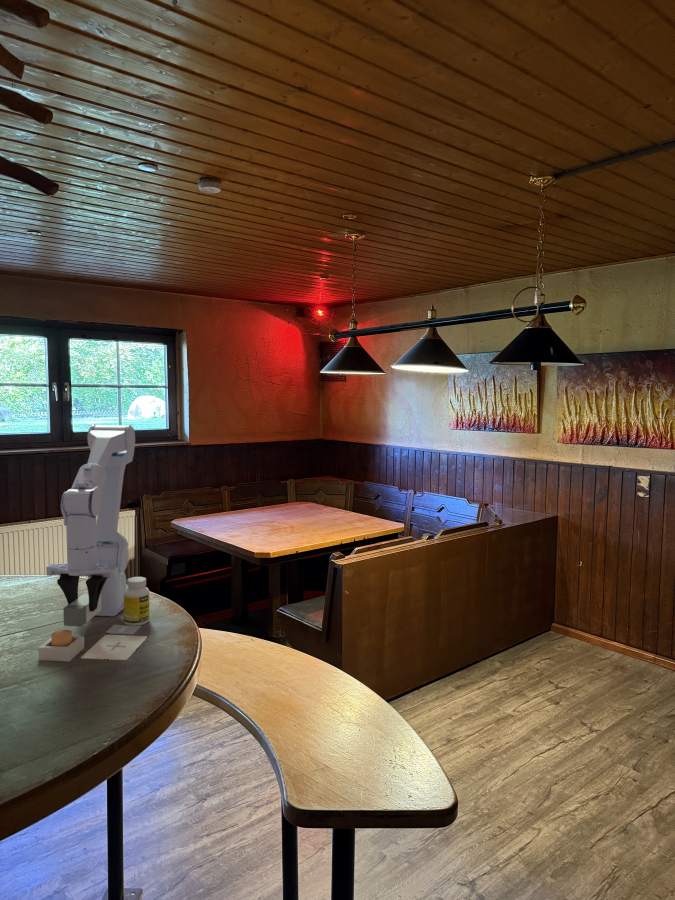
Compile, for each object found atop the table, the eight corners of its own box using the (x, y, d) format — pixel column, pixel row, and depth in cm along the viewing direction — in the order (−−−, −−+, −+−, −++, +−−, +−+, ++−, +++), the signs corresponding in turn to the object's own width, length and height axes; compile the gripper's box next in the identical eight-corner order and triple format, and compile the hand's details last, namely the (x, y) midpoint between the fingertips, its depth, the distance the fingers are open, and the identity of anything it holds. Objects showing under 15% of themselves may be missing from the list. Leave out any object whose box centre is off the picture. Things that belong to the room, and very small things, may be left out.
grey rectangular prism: (85, 609, 131) (84, 592, 131) (101, 609, 131) (101, 593, 131) (63, 625, 122) (63, 608, 122) (81, 626, 122) (81, 608, 122)
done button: (57, 643, 120) (57, 629, 119) (75, 644, 120) (75, 630, 119) (48, 651, 116) (47, 636, 116) (66, 652, 116) (65, 637, 116)
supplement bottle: (141, 627, 132) (141, 584, 131) (119, 625, 133) (118, 581, 132) (154, 618, 137) (153, 576, 136) (132, 616, 138) (131, 574, 137)
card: (113, 626, 132) (113, 624, 132) (140, 627, 132) (140, 625, 132) (105, 633, 128) (105, 631, 128) (133, 634, 128) (133, 633, 128)
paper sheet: (105, 635, 127) (105, 634, 127) (147, 637, 127) (147, 636, 127) (80, 658, 116) (80, 657, 116) (126, 660, 116) (126, 659, 116)
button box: (55, 646, 121) (54, 634, 121) (84, 648, 121) (84, 636, 121) (38, 660, 115) (38, 647, 115) (69, 661, 115) (69, 648, 115)
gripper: (37, 549, 122) (39, 615, 123) (107, 552, 121) (109, 618, 122) (55, 541, 129) (57, 602, 130) (122, 543, 128) (123, 605, 129)
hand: (83, 609), depth 127 cm, fingers closed on grey rectangular prism, 4 cm apart
